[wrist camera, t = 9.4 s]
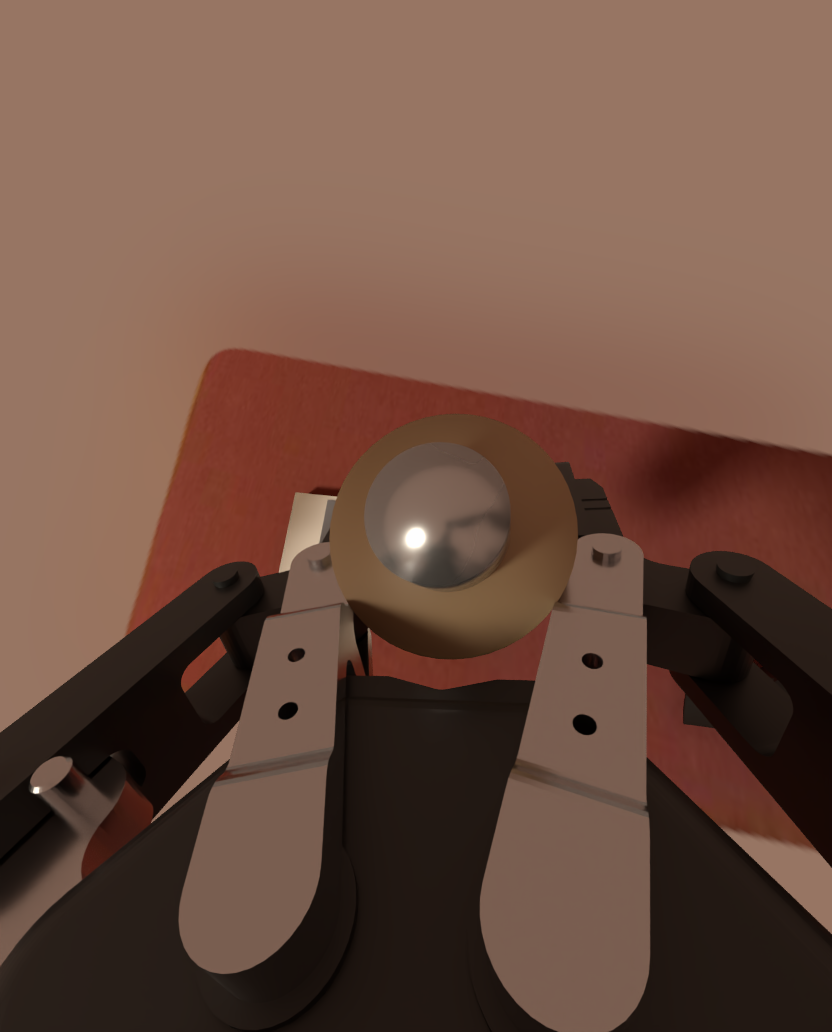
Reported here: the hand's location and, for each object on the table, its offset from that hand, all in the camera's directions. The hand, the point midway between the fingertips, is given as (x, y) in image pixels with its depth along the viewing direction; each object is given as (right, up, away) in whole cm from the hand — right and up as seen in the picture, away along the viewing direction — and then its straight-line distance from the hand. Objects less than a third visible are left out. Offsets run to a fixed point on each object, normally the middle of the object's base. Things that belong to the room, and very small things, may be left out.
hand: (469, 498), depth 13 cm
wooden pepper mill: (+1, -3, +4) cm, 5 cm away
